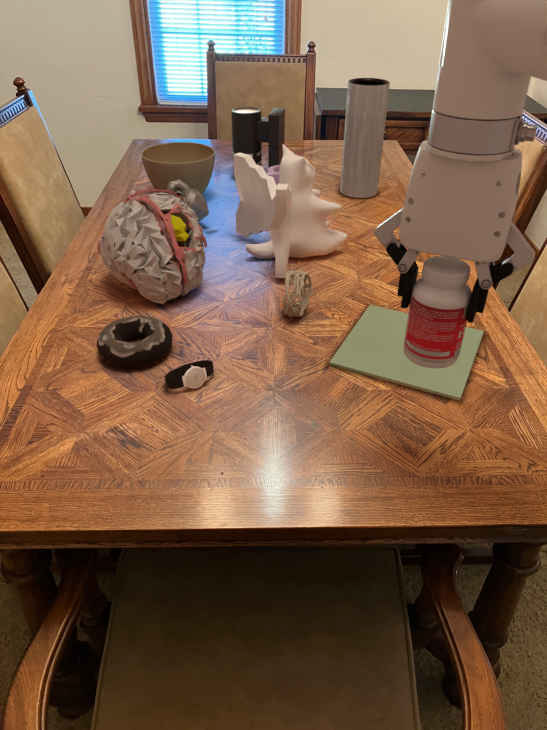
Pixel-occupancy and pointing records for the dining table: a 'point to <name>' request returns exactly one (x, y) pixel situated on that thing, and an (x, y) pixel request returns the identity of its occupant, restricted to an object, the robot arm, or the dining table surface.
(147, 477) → the dining table surface
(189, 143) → the flower pot
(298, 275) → the bracelet
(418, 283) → the pill bottle
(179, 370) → the watch
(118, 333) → the donut
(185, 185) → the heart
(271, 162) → the light fixture
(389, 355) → the mat
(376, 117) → the planter
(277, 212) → the white spiky figurine
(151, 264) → the decorative sculpture
